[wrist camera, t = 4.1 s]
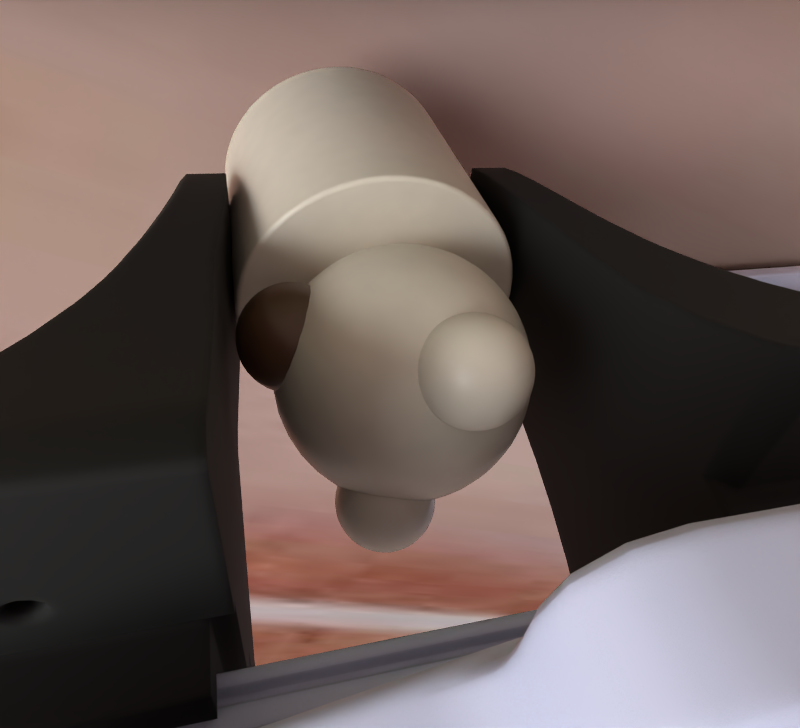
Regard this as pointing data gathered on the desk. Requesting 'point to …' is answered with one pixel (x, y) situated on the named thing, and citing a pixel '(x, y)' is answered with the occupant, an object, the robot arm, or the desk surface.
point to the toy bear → (373, 298)
